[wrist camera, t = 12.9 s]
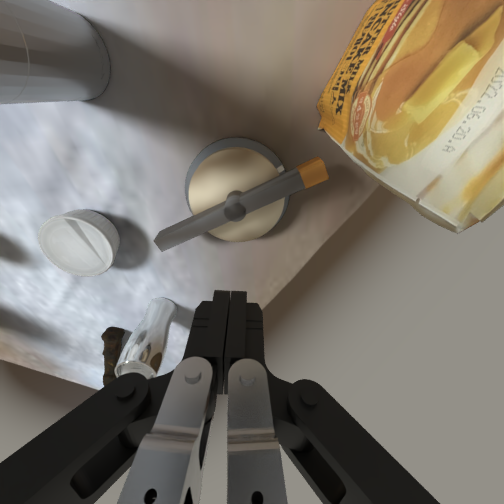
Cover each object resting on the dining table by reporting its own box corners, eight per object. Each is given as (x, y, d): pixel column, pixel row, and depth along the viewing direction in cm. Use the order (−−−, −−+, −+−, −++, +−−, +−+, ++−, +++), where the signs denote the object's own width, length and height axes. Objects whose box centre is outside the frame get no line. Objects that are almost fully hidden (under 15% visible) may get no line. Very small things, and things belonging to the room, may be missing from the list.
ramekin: (136, 226, 45) (123, 241, 40) (113, 269, 50) (99, 287, 45) (69, 190, 41) (47, 201, 37) (51, 240, 46) (30, 256, 42)
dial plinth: (190, 233, 45) (188, 238, 44) (183, 133, 37) (180, 135, 35) (282, 238, 46) (283, 243, 44) (295, 140, 37) (297, 142, 36)
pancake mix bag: (439, -7, 29) (1256, -438, 5) (337, 152, 38) (477, 253, 14) (393, -46, 28) (1258, -889, 4) (298, 130, 37) (382, 201, 13)
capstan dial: (142, 189, 39) (125, 205, 34) (298, 108, 34) (307, 111, 28) (192, 259, 46) (184, 281, 41) (330, 201, 40) (341, 218, 35)
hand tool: (108, 323, 57) (97, 340, 53) (126, 327, 58) (117, 345, 54) (104, 372, 67) (95, 390, 63) (120, 375, 68) (112, 393, 64)
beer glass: (180, 320, 57) (159, 388, 44) (148, 319, 56) (117, 386, 44) (178, 296, 53) (154, 361, 40) (143, 294, 53) (108, 359, 40)
